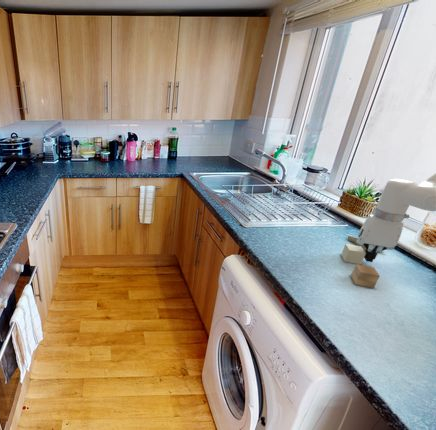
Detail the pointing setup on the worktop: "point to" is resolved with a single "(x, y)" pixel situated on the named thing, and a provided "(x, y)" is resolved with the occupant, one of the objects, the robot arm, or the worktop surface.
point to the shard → (356, 242)
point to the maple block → (365, 276)
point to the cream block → (353, 254)
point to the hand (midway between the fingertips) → (367, 259)
